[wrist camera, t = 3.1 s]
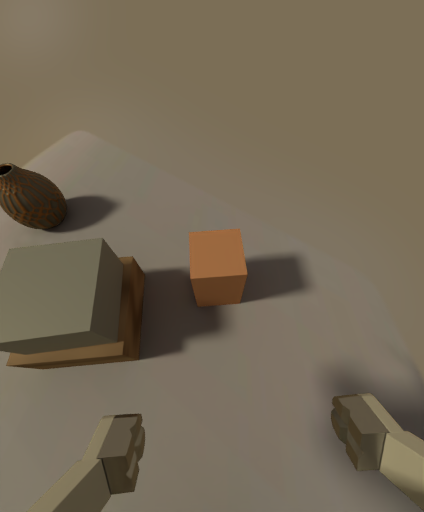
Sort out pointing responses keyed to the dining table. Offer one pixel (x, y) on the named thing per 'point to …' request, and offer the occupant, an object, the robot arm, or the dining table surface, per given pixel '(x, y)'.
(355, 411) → the robot arm
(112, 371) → the dining table surface
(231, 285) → the terracotta block
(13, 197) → the vase
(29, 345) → the tower top block
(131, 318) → the tower base block
